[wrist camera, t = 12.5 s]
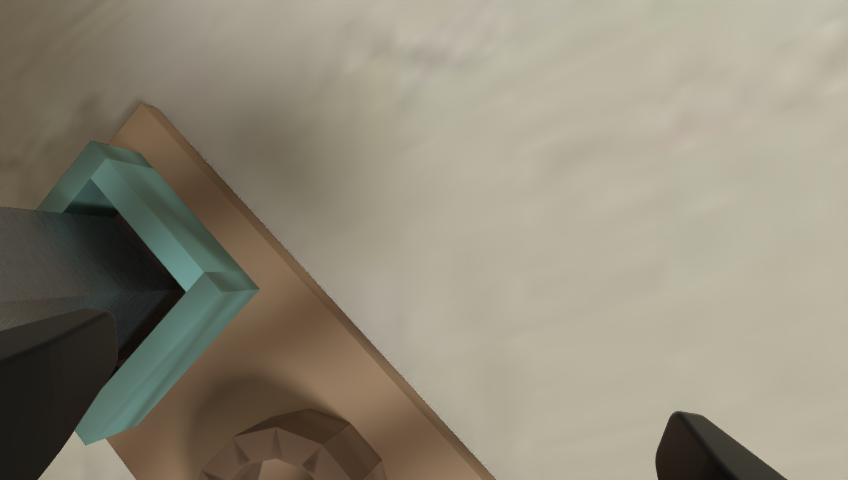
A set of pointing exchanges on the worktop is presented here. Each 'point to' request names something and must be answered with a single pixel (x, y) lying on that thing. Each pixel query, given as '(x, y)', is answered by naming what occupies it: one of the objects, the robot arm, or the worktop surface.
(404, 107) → the worktop surface
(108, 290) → the square bit
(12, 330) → the robot arm
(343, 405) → the bit holder
